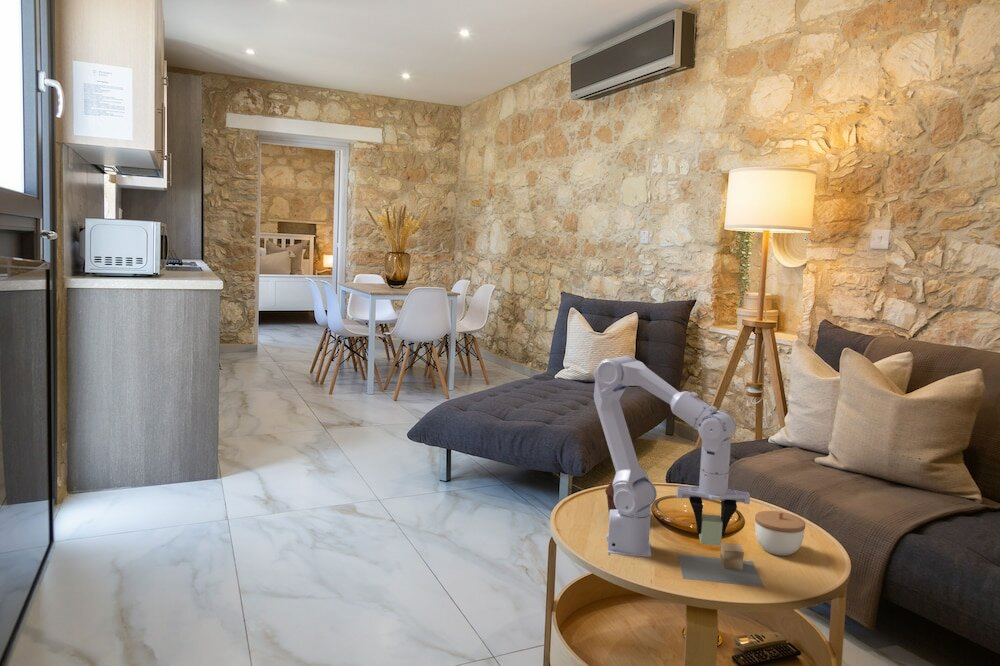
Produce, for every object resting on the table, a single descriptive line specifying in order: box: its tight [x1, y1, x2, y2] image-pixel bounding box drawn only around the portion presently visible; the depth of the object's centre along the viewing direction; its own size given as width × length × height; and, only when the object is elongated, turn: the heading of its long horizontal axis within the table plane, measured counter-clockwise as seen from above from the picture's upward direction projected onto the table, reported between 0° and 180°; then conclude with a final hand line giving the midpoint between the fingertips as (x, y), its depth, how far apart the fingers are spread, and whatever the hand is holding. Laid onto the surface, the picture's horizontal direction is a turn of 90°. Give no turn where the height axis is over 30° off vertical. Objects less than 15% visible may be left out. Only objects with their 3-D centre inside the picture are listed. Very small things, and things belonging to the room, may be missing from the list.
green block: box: [698, 513, 723, 547], centre depth 146 cm, size 4×4×5 cm
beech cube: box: [719, 542, 745, 570], centre depth 150 cm, size 4×4×4 cm
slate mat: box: [677, 553, 765, 588], centre depth 148 cm, size 16×12×1 cm
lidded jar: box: [754, 510, 806, 557], centre depth 159 cm, size 11×11×9 cm
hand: (710, 533), depth 146 cm, fingers closed on green block, 4 cm apart
